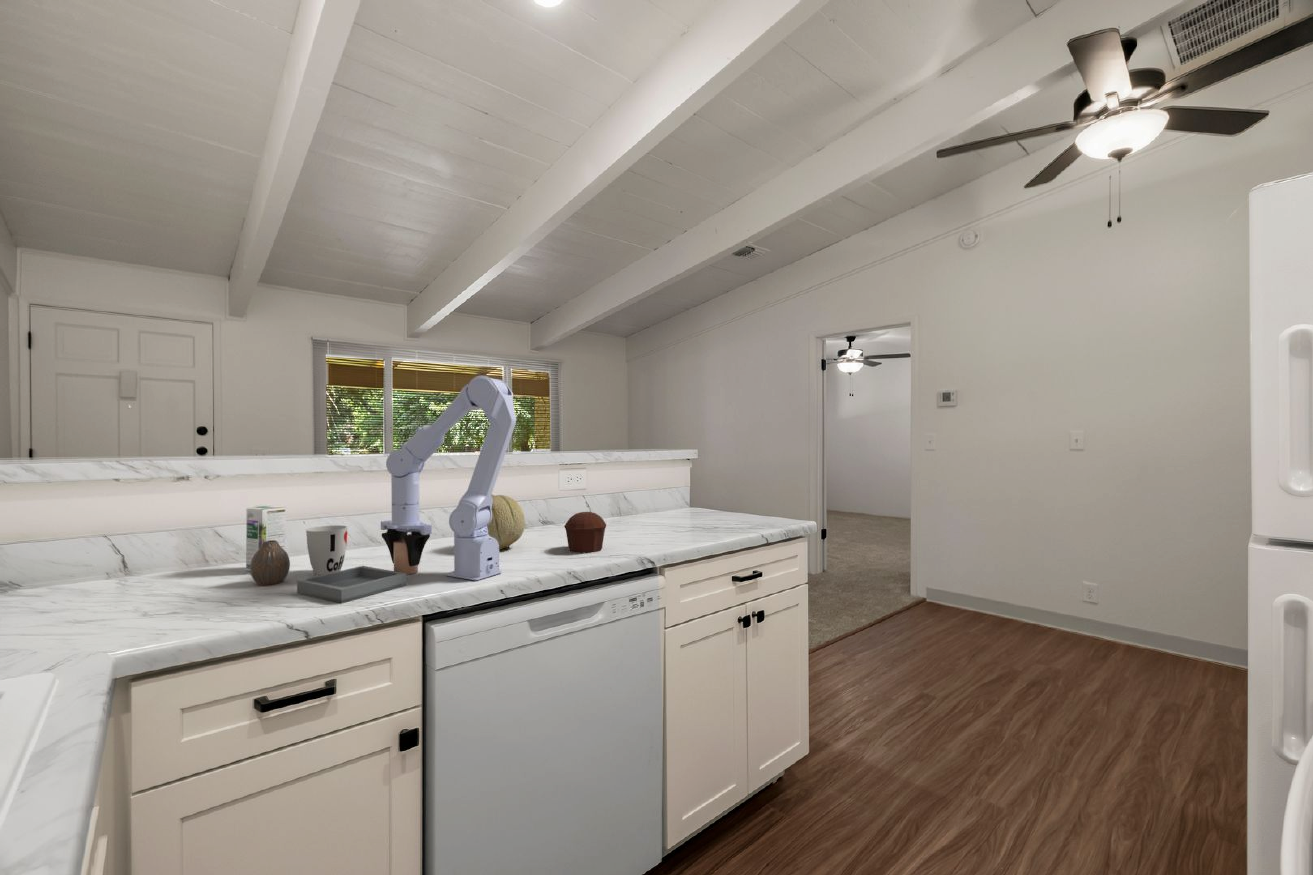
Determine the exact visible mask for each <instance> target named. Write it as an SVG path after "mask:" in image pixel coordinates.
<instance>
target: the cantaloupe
mask: <svg viewBox="0 0 1313 875" xmlns="http://www.w3.org/2000/svg"><path fill="white" fill-rule="evenodd" d="M491 496H492V499H493V504H492V508H491V511H492V520H491V522H490V524H489V525H488V526H487V529H488V534H489V536H490V537H493V538H495V539H496V540H497V541H498V544H499V550H504V549H505V548H507V547H509V546H511V545H513V544H515V542H517V541H518V540H519V539H520V538H521V537H522V535H523V534H524V530H525V527H526V518H525V514H524V511H523V509H522V507H521V505H520V504H519V503H518V502H517V501H516V500H515V499H514V498H512V497H509V496H507V495H503V494H501V495H500V494H497V495H494V494H492V495H491Z"/></svg>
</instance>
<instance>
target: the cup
mask: <svg viewBox="0 0 1313 875" xmlns="http://www.w3.org/2000/svg"><path fill="white" fill-rule="evenodd" d="M348 528H349V526H346V525H341V524H340V525H338V524H337V525H322V526H316V527H315V526H314V527H310V528H306V529H305V532H306V533H305V534H306V535H305V536H306V545H307V552H308V557H309V562H310V563H309V564H310V565H311V568H312V571H313V573H314V575H316V576H320V575H324V574H329V573H333V572H337V571H342V567H343V564H344V561H345V556H346V550H347V544H348Z"/></svg>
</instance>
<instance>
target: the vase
mask: <svg viewBox="0 0 1313 875" xmlns="http://www.w3.org/2000/svg"><path fill="white" fill-rule="evenodd" d="M290 566H291V560H290V557H289V554H288V552H286V551H285V550H284V549H283V548H282V547H281V546H280V545H279V544H278V542H277V541H276V540H270V541H264V542H263V544H262V546H261V547H260V549H259V550H258V551H257V552H256V553H255V555H254V556H253V558H252V561H251V564H250V571H249V572H250V576H251V578H252V580H254V582H255V583H256V584H258V585H259V586H270V585H277V584H281V583H282V582H283V581H284V580H285V579H286V578H287V576H288V574H289V572H290V568H291V567H290Z"/></svg>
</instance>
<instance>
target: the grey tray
mask: <svg viewBox="0 0 1313 875" xmlns="http://www.w3.org/2000/svg"><path fill="white" fill-rule="evenodd" d="M405 586H407V575H406V573H401V572H396V571H394V570H389V569H384V568H377V567H373V566H366V565H361V566H356V567H352V568H346V569H344V570H342V569H341V571H337V572H333V573H329V574H324V575H316V576H312V577H307V578H302V579H298V580H296V590H297V591H296V593H297V594H298V595H303V596H308V597H311V598H317V599H321V600H325V601H329V602H334V603H339V604H344V603H348V602H351V601H355V600H358V599H363V598H365V597H369V596H373V595H376V594H379V593H383V592H384V593H385V592H387V591H392V590H395V589H398V588H402V587H405Z"/></svg>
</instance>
